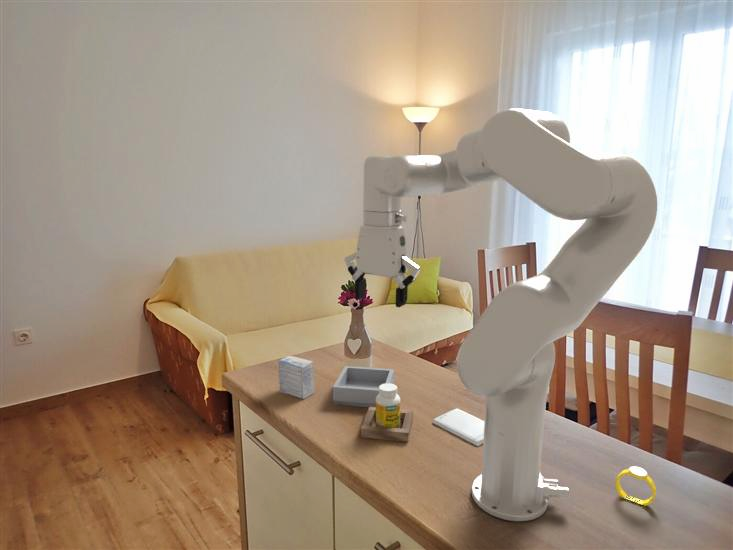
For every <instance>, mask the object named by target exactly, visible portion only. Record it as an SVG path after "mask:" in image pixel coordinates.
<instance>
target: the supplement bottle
mask: <svg viewBox="0 0 733 550" xmlns="http://www.w3.org/2000/svg"><path fill="white" fill-rule="evenodd" d="M400 409H401V397H400V395H399V394H398V386H397V385H396V384H395V383H394V384H390V383H386V384H382V385H380V386H379V394H378V395H377V397H376V418H375V426H378V427H389V428H400V427H401V421H400ZM400 429H401V428H400Z"/></svg>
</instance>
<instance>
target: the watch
mask: <svg viewBox="0 0 733 550" xmlns="http://www.w3.org/2000/svg"><path fill="white" fill-rule="evenodd" d="M625 475H626V476H627V475H630V476H631V477H633V478H634V479H636V480H637V479H638V480H644V481H646V483H647V484H648V485H649V487H650V489H651V496H650V498H647V499H644V500H643V499H640V498H637V497H634V496H631V495H629V496H630V497H631V498H630V497H628V496H627V495H628V494H627V493H626V492H625V491H624V490H623V488H622V486H621V483H620V482H621V478H622V477H623V476H625ZM615 488H616V492H617V493H618V495H619V496H620V497H621V498H622V499H623V498H624V499H625V498H626V496H627V497H628V498H630V499H628V498H626V499H628V500H631V501H633V502H634V501H635V500H636V501H635V502H637V501H638V502H637V503H638V504H641V505H644V506H643V507H645V506H648V505H650V504H651V503H652V502H653V501H654V500H655V499H656V496H657V486H656V484H655V482H654V480H653V479H652V478H651V477H650V476H649V475H648V472H647V470H645V469H644V468H642V467H640V466H635V465H634V466H630V467H629V468H627V469H623V470H622V471H621V472H620V473H618V475H617V477H616V480H615ZM633 497H634V498H633ZM632 498H633V499H632ZM624 499H623V500H624ZM639 500H640V501H639ZM638 504H637V505H638Z"/></svg>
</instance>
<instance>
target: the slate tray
mask: <svg viewBox="0 0 733 550" xmlns="http://www.w3.org/2000/svg"><path fill="white" fill-rule="evenodd" d="M386 383H390V384H394V385H395V369H393V368H381V367H380V368H379V367H365V366H364V367H363V366H349V365H344V367H343V369H342V370H341V372H340V374H339V375H338V377H337V379H336V381H335V382H334V384H333V386H332V404H333V405H335V404H338V405H337V406H345V407H346V406H349V407H360V408H369V407H376V397H377V395H378V394H379V386H380V385H382V384H386Z"/></svg>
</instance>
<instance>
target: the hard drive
mask: <svg viewBox="0 0 733 550" xmlns="http://www.w3.org/2000/svg"><path fill="white" fill-rule="evenodd" d="M432 422H433V424H434V425H436V426H437V427H440V428H441V429H444V430H446V431H448V432H450V433H452V434H453V435H456V436H457V437H459V438H461V439H463V440H465V441H467V442H469V443H470V444H473V445H474V446H477V447H479V446H481V445H483V441H484V422H485V420H482V419H480V418H479V417H476V416H474V415H473V414H470V413H468V412H466V411H464V410H461V409H460V408H455V409H452V410H450V411H447V412H446V413H443V414H441V415H439V416H438V417H435V418H433V421H432Z"/></svg>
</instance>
